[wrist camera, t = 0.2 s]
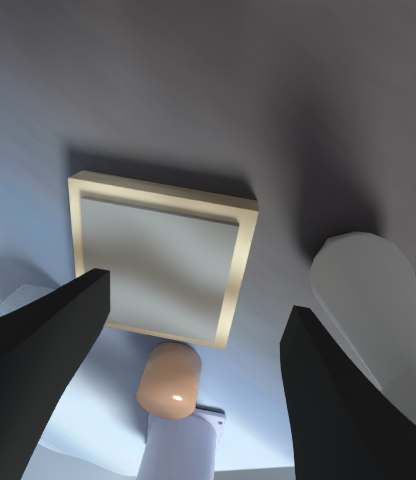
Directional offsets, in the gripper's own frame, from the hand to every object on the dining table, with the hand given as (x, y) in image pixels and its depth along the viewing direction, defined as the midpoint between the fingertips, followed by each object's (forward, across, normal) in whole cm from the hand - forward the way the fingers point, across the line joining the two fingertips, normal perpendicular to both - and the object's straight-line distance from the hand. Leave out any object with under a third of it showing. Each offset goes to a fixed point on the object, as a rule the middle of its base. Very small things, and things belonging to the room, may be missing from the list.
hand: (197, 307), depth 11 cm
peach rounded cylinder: (+10, +2, +16) cm, 19 cm away
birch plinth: (+10, +4, +4) cm, 12 cm away
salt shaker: (+10, -10, +2) cm, 14 cm away
